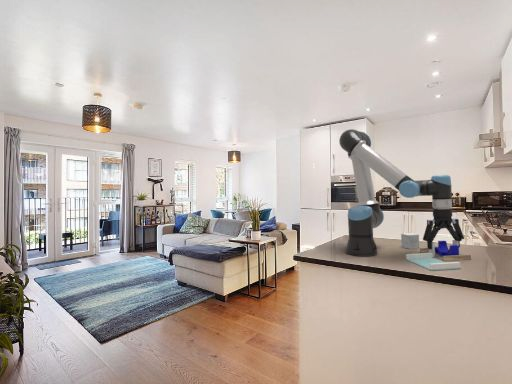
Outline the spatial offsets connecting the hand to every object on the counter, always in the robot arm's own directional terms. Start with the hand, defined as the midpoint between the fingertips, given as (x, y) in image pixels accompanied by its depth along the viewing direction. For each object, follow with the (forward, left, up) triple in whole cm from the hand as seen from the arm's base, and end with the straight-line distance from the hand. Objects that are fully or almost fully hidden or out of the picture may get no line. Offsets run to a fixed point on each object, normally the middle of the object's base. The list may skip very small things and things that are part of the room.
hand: (443, 255), depth 127 cm
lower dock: (+11, -14, 0) cm, 18 cm away
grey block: (-19, -4, -1) cm, 20 cm away
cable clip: (0, +1, -1) cm, 1 cm away
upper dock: (0, 0, 0) cm, 0 cm away
